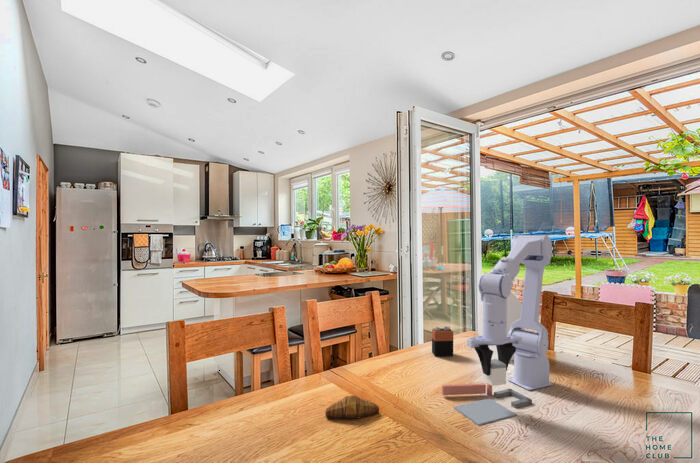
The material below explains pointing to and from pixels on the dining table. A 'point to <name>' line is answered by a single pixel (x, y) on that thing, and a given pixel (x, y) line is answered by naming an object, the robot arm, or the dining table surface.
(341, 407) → the croissant
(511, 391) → the bracket
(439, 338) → the battery
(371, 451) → the dining table surface
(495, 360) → the plug
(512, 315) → the milk
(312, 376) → the dining table surface
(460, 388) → the pink flat bar
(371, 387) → the dining table surface
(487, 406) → the slate mat
